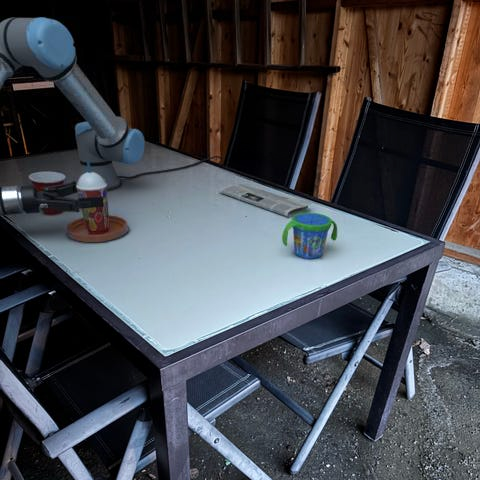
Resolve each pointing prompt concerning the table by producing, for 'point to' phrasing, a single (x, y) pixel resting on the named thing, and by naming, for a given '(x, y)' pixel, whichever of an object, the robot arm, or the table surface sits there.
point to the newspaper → (266, 199)
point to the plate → (80, 233)
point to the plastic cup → (47, 183)
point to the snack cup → (309, 233)
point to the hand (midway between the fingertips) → (101, 194)
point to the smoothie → (94, 187)
